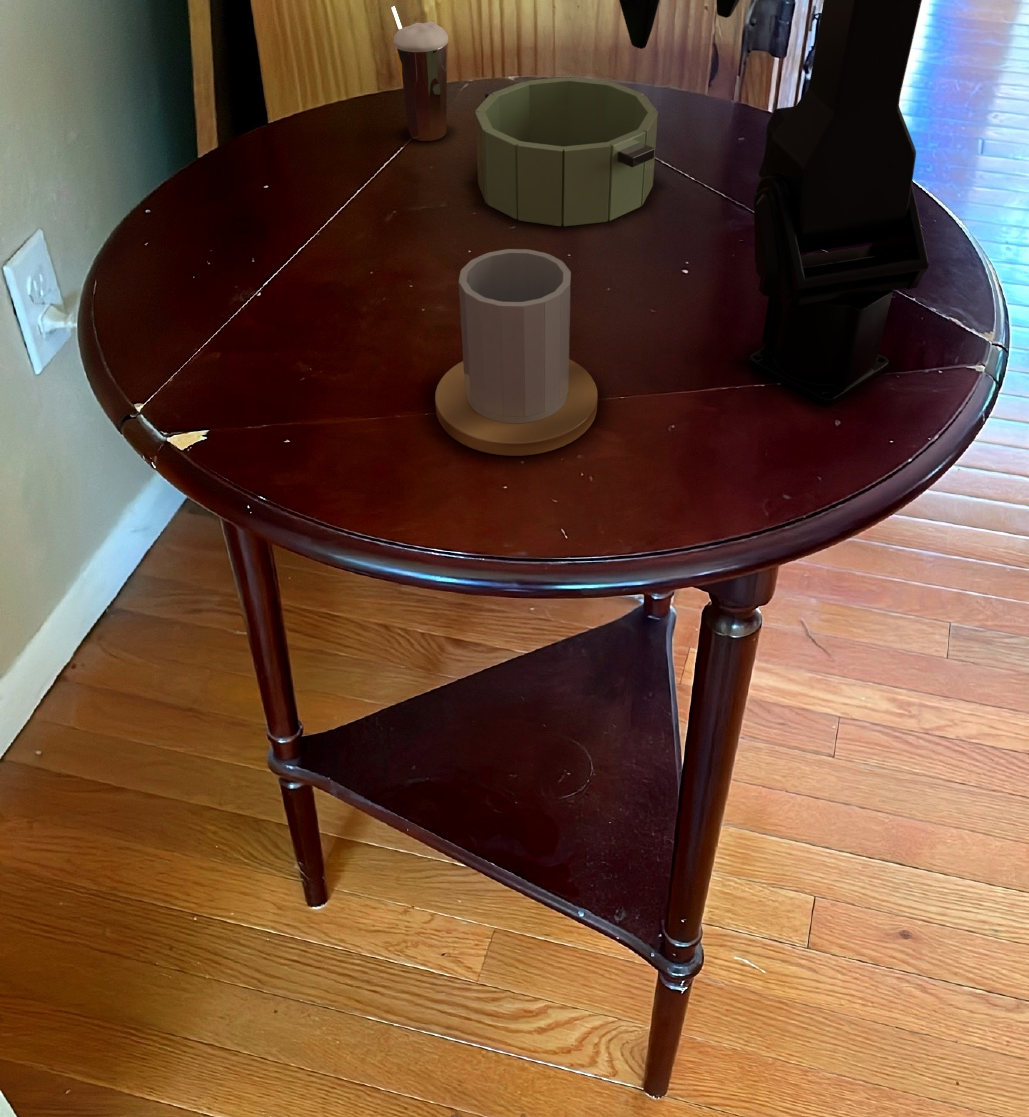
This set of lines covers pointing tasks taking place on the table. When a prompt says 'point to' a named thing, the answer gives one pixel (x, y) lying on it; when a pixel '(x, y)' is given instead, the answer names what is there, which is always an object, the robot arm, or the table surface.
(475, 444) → the disc
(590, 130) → the big pot
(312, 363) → the table surface
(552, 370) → the small pot
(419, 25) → the milkshake
